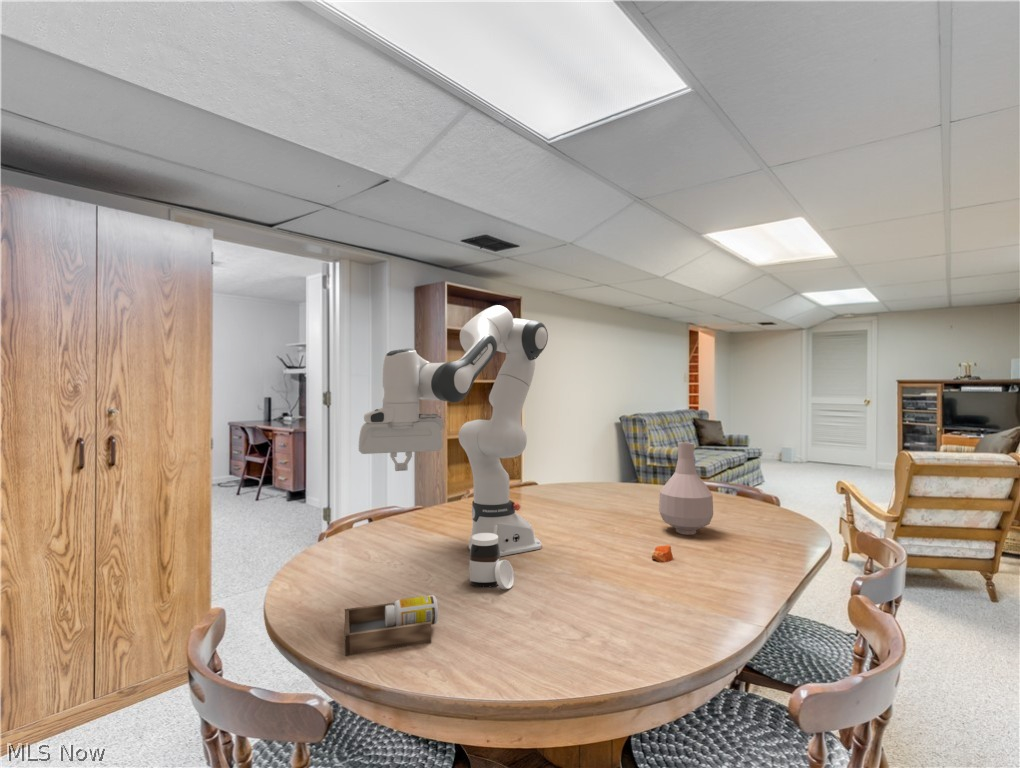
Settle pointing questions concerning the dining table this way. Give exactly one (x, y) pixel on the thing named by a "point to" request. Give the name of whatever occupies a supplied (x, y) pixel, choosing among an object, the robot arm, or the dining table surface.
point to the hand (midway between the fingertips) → (401, 470)
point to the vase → (686, 495)
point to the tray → (379, 631)
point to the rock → (662, 553)
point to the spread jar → (489, 563)
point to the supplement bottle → (412, 611)
